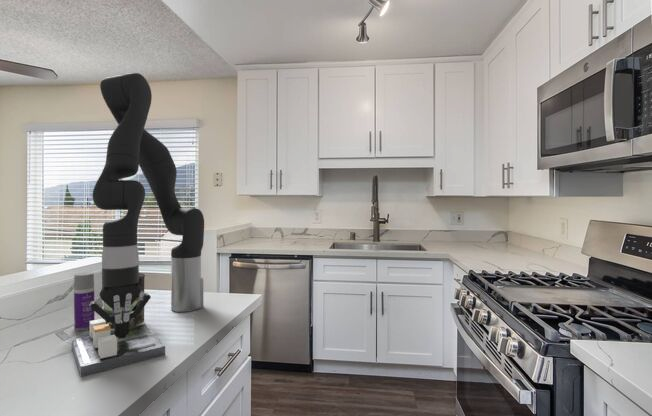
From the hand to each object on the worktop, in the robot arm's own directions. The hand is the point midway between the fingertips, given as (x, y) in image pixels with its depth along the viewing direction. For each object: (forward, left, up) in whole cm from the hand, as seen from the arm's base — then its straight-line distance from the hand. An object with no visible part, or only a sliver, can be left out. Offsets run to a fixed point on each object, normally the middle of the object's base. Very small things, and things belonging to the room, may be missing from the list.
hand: (121, 337), depth 83 cm
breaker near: (+4, +7, -1) cm, 8 cm away
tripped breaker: (+4, 0, -1) cm, 4 cm away
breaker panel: (+1, 0, -3) cm, 3 cm away
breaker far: (+4, -7, -1) cm, 8 cm away
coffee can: (-4, -19, -3) cm, 19 cm away
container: (+5, -24, -3) cm, 24 cm away
